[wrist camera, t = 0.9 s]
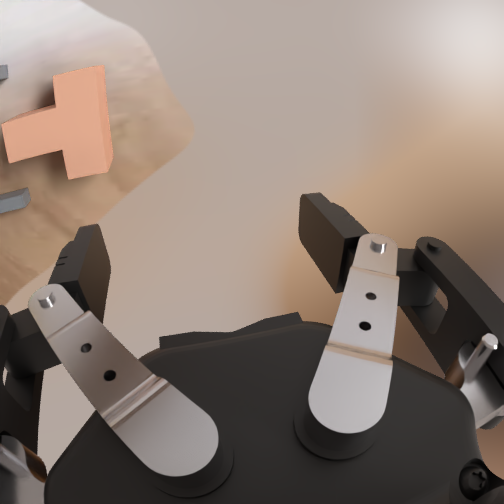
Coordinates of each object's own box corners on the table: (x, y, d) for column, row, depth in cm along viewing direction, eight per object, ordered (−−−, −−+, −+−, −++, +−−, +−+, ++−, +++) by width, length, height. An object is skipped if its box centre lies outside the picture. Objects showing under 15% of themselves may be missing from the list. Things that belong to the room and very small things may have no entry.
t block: (31, 173, 28) (16, 191, 24) (17, 88, 23) (-3, 94, 19) (113, 156, 31) (107, 171, 27) (104, 65, 25) (95, 65, 21)
